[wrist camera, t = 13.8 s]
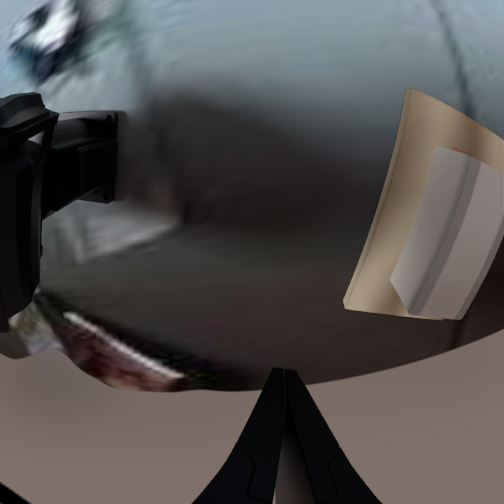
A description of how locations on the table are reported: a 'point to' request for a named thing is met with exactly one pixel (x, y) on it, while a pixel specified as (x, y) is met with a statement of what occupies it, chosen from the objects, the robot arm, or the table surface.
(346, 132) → the table surface
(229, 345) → the table surface
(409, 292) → the plug housing
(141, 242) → the table surface
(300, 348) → the table surface
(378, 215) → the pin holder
